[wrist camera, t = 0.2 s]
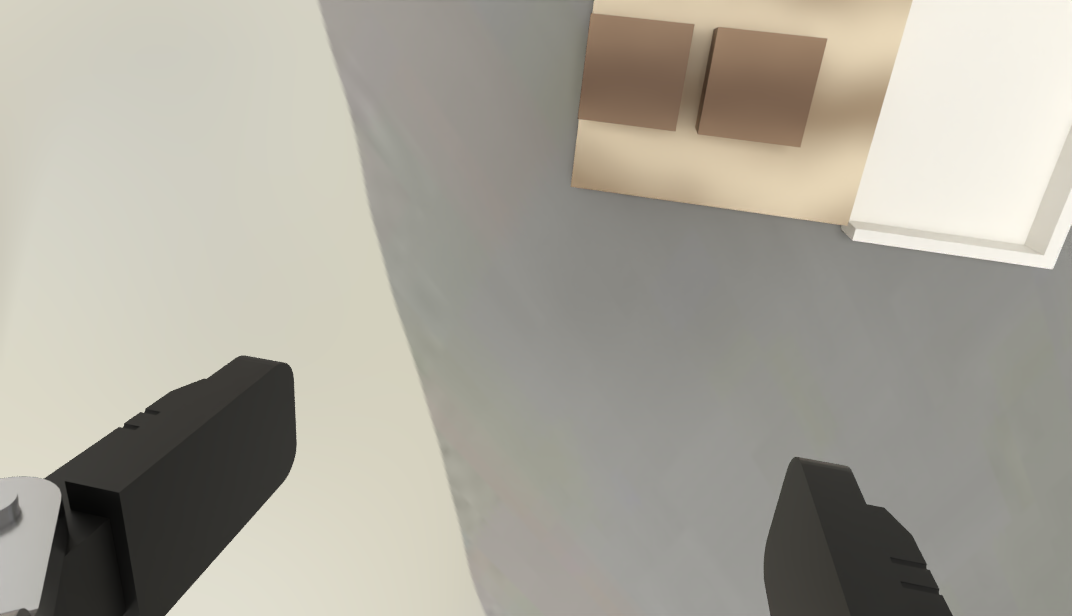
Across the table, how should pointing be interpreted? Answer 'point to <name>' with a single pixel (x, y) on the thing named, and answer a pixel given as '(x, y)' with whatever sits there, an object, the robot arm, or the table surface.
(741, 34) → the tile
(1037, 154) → the tray
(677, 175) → the beige square panel
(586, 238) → the table surface
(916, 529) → the table surface
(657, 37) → the brown square block
